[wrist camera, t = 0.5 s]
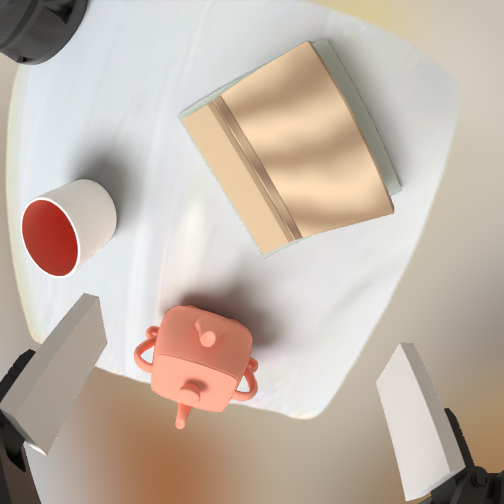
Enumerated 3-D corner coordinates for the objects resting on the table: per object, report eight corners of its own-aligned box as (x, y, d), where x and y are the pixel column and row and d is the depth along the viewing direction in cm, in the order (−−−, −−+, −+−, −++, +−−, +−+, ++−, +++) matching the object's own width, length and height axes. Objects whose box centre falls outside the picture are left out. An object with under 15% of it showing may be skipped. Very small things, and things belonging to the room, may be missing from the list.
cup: (56, 190, 35) (11, 211, 26) (106, 167, 34) (60, 184, 25) (79, 251, 39) (40, 283, 30) (130, 237, 38) (93, 271, 28)
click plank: (218, 99, 29) (211, 101, 28) (311, 41, 21) (307, 40, 20) (297, 234, 35) (293, 240, 34) (394, 207, 27) (393, 213, 26)
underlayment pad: (179, 116, 31) (173, 115, 29) (323, 40, 26) (327, 34, 24) (264, 255, 37) (263, 263, 35) (398, 188, 32) (406, 193, 30)
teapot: (227, 274, 39) (210, 336, 27) (273, 358, 45) (271, 424, 33) (140, 304, 42) (105, 360, 31) (193, 377, 48) (176, 435, 36)
